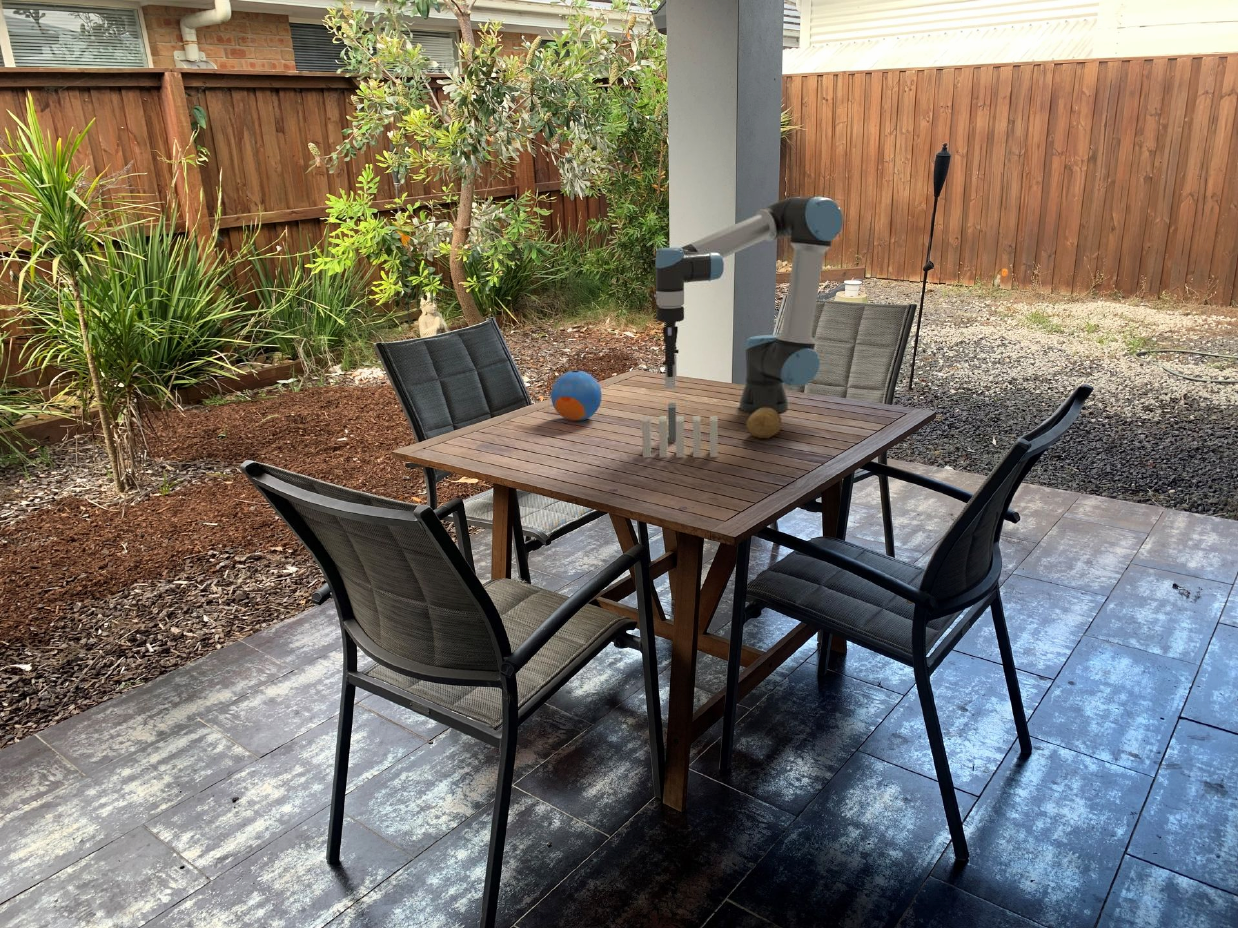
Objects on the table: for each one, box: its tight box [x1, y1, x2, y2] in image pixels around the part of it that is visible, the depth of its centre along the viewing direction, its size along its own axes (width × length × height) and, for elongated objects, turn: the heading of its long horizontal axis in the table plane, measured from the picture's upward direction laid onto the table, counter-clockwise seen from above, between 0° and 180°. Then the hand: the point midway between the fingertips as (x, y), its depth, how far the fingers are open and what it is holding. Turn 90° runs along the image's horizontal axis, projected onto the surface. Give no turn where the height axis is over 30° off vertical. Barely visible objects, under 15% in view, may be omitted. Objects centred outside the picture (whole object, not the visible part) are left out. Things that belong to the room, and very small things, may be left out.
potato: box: [745, 408, 782, 439], centre depth 258 cm, size 10×14×8 cm
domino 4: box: [675, 415, 685, 458], centre depth 245 cm, size 2×5×10 cm, turn 175°
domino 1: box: [641, 416, 652, 458], centre depth 246 cm, size 2×5×10 cm, turn 175°
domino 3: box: [667, 402, 677, 443], centre depth 258 cm, size 2×5×10 cm, turn 175°
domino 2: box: [658, 415, 669, 458], centre depth 245 cm, size 2×5×10 cm, turn 175°
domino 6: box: [709, 415, 719, 458], centre depth 244 cm, size 2×5×10 cm, turn 175°
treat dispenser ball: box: [550, 370, 603, 422], centre depth 280 cm, size 16×15×15 cm
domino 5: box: [692, 415, 702, 458], centre depth 244 cm, size 2×5×10 cm, turn 175°
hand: (671, 382), depth 255 cm, fingers open, 13 cm apart
